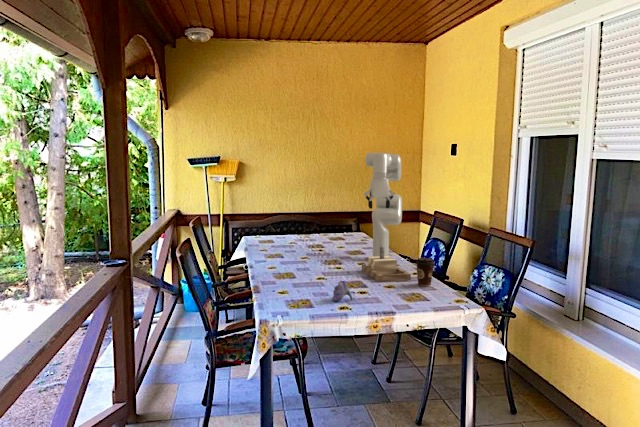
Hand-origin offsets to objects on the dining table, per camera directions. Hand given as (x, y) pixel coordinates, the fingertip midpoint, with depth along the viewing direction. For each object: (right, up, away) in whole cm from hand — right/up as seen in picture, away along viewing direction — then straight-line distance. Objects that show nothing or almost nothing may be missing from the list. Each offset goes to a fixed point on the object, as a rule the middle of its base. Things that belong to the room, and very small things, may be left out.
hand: (379, 208), depth 262 cm
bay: (+2, -35, -7) cm, 36 cm away
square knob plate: (+1, -35, -2) cm, 35 cm away
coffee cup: (+19, -38, -26) cm, 50 cm away
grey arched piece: (-23, -40, -53) cm, 70 cm away
